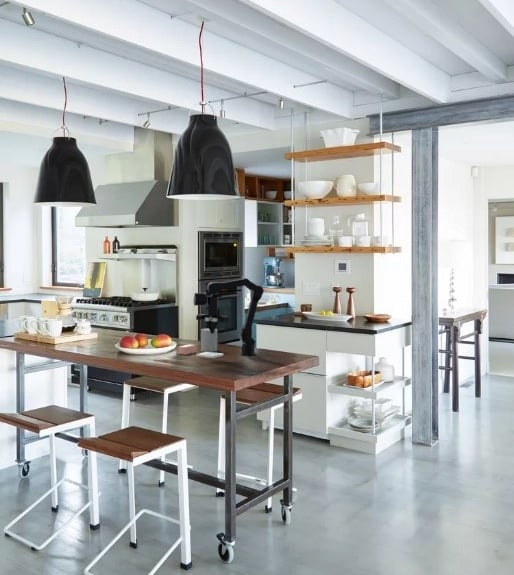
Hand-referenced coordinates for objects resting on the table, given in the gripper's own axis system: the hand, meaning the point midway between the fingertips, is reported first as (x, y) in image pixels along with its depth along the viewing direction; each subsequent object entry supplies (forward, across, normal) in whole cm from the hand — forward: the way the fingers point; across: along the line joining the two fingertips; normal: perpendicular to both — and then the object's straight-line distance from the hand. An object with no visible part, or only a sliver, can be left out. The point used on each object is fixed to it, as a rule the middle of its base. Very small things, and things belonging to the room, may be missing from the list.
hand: (212, 333), depth 351 cm
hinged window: (+12, +2, 0) cm, 13 cm away
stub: (+12, +17, 0) cm, 21 cm away
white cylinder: (+13, +13, -15) cm, 24 cm away
